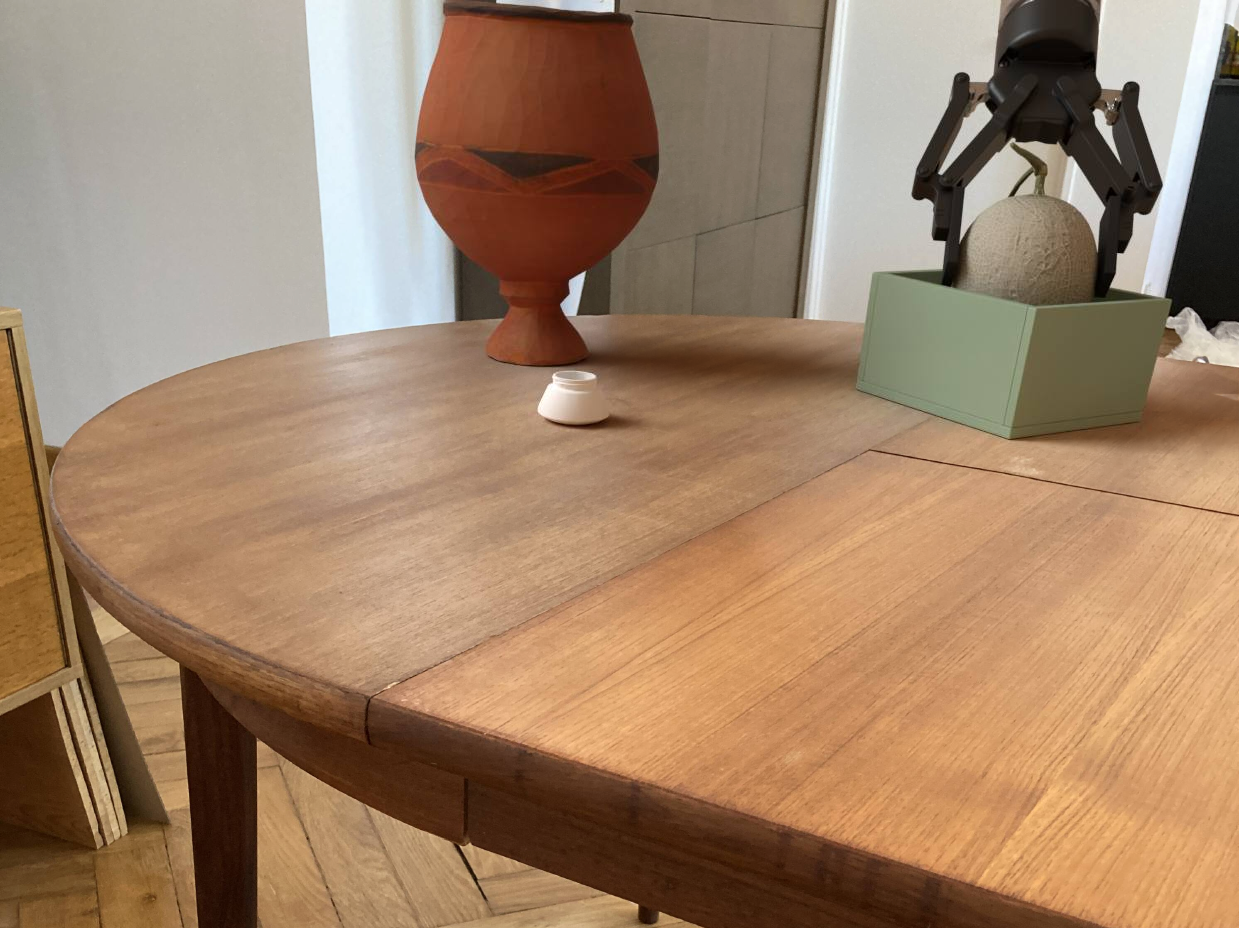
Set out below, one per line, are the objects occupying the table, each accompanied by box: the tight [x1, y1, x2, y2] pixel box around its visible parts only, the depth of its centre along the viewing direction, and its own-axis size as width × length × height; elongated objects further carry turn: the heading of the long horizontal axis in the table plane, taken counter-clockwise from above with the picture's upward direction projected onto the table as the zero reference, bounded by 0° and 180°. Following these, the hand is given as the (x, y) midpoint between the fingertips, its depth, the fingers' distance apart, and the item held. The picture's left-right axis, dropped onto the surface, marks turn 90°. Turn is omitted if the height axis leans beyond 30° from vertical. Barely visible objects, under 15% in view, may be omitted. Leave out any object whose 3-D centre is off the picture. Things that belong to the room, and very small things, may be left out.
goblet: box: [414, 0, 660, 367], centre depth 100 cm, size 19×19×25 cm
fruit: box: [951, 141, 1098, 306], centre depth 93 cm, size 10×12×15 cm
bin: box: [855, 268, 1173, 440], centre depth 97 cm, size 17×15×9 cm
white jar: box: [537, 370, 610, 426], centre depth 88 cm, size 5×3×5 cm
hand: (1026, 280), depth 91 cm, fingers closed on fruit, 10 cm apart
